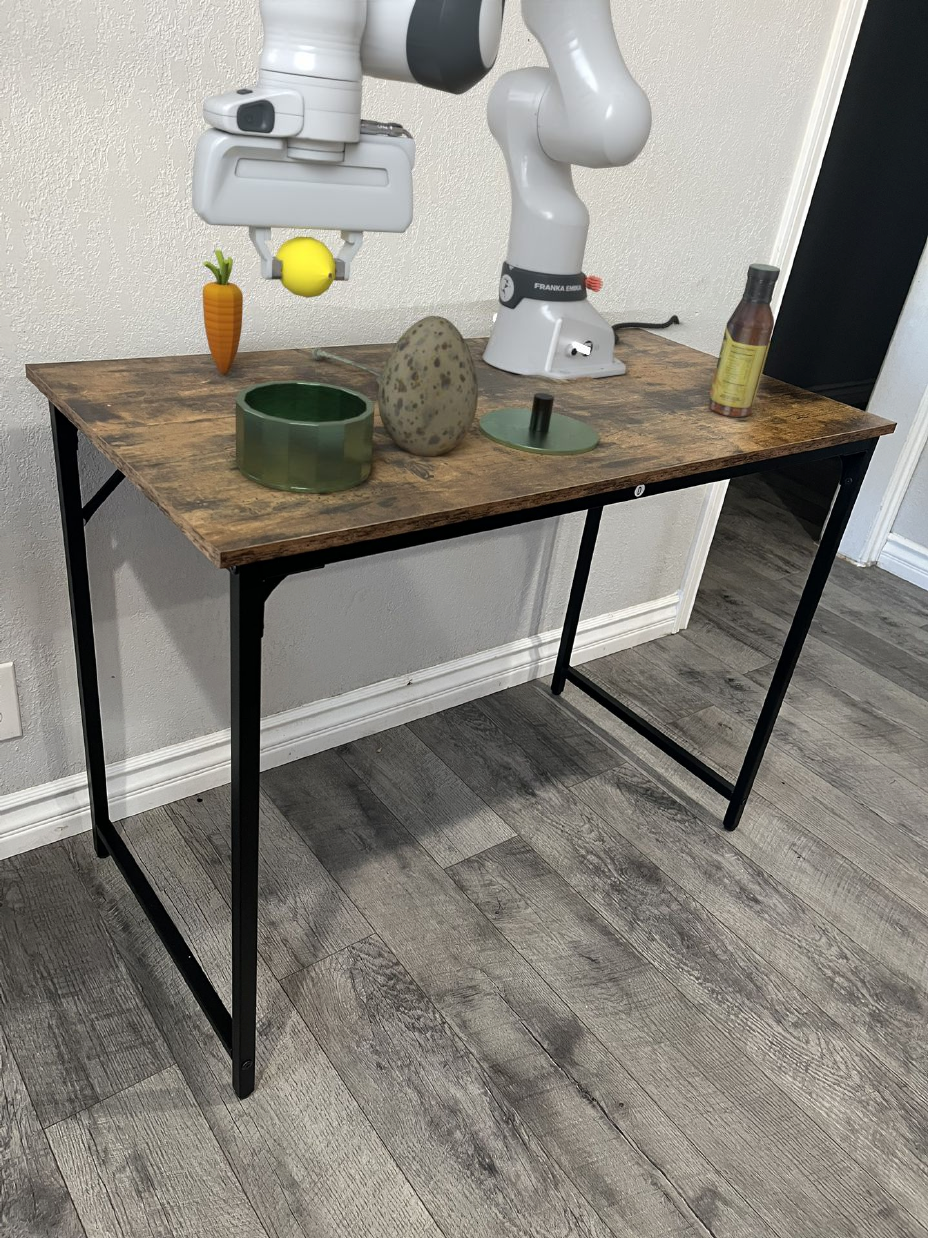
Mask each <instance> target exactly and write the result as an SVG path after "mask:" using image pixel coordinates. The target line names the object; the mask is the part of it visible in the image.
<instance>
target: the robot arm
mask: <svg viewBox="0 0 928 1238" xmlns="http://www.w3.org/2000/svg"><path fill="white" fill-rule="evenodd" d="M519 1H520V14H521V19H522V21H523V24H524V26H525V28H526V29H527V30H528V32H529V33H530V34H531V35H532V36H533V37H534V38H535V39H536V41H537V42H538V44H539V45H540V47H541V49H542V51H543V54H544V56H545V58H546V62H547V65H548V67H547V66H546V67H545V66H539V65H534V66H528V67H526V66H525V67H522V68H517V69H513V70H509V71H506V72H504V73H503V74H501V75H500V76H499V77H498V78H497V80H496V81H494V84H493V85H492V87H491V89H490V91H489V93H488V94H489V95H488V98H487V103H486V121H487V122H486V123H487V126H488V129H489V131H490V134H491V135H492V137H493V139H494V140H495V142H496V144H497V145H498V146H499V149H500V150H501V152H502V155H503V159H504V162H505V166H506V170H507V171H506V172H507V175H508V180H509V187H510V201H511V210H510V221H509V230H508V231H509V232H508V242H507V251H506V258H505V259H506V260H504V261H503V262H502V266H501V272H500V278H499V286H498V288H499V289H498V306H497V309H496V313H495V314H494V315H493V319H492V322H493V326H492V329H491V334H490V335H489V338H488V342H487V344H486V347H485V349H484V352H483V353H482V359H483V361H484V362H486V364H489V365H490V366H493V367H495V368H497V369H500V370H503V371H506V372H510V373H513V374H519V375H523V376H537V375H538V376H542V377H545V378H550V379H554V380H559V381H560V380H562V381H563V380H564V381H565V380H573V379H580V378H581V379H582V378H588V377H589V378H591V379H598V378H603V377H604V378H605V377H611V376H619V375H625V374H626V373H627V366H626V365H625V363H624V362H622V360H620V359H618V358H617V357H615V355H614V354H615V344H617V343H618V342H619V341H620V337H619V335H618V334H617V332H616V331H618V330H621V329H629V328H630V329H631V328H632V329H633V328H635V329H647V330H649V329H650V330H651V329H652V330H662V329H663V330H664V329H667V328H669V327H670V326H672V325H673V324H674V325H680V319H679V317H678V315H676V314H673V315H672V316H671V317H670V318H669V319H668V320H667V321H666V322H663V323H661V322H660V323H652V322H651V323H650V322H640V321H639V322H637V321H635V322H634V321H631V322H630V321H629V322H621V323H615V324H613V325H611V324H610V323H609V322H608V321H607V320H606V319H605V318H604V317H603V316H602V315H601V313H600V312H599V311H598V310H597V309H596V307H595V306H594V305H593V304H592V303H591V302H590V301H589V300H588V292H587V290H591V291H592V292H594V293H598V292H600V291H601V290H602V289H603V287H604V281H603V279H602V278H600V277H598V276H595V275H592V274H591V275H589V276H587V275H586V274H585V273H584V272H583V264H584V258H585V252H586V245H587V239H588V234H589V228H590V222H591V220H590V212H589V210H588V207H587V205H586V203H584V201H583V200H582V199H581V198H580V196H579V195H578V193H577V190H576V188H575V185H574V184H575V183H574V181H573V175H572V173H573V172H572V165H574V166H579V167H582V168H583V167H584V168H588V169H593V170H595V169H597V170H598V169H612V168H620V167H621V168H623V167H625V166H626V167H627V166H628V165H630V164H631V163H633V162H634V161H635V160H637V158H638V157H639V155H640V154H641V153H642V152H643V150H644V149H645V146H646V145H647V142H648V140H649V137H650V134H651V130H652V124H653V123H652V122H653V116H652V106H651V102H650V99H649V97H648V94H647V93H646V92H645V90H644V89H643V88H642V87H641V86H640V85H639V84H638V82H637V81H636V79H635V78H634V77H633V75H632V74H631V72H630V71H629V68H628V66H627V64H626V61H625V60H624V57H623V55H622V53H621V49H620V47H619V42H618V40H617V37H616V32H615V28H614V23H613V18H612V10H611V0H519ZM505 6H506V0H258V10H259V15H260V20H261V23H262V30H263V42H262V49H261V53H260V56H259V60H258V77H257V78H258V80H257V81H258V83H257V84H255V85H249V86H247V87H244V88H239V89H235V90H231V91H227V92H223V93H219V94H216V95H215V94H214V95H212V96H209V97H207V98H205V99H204V100H203V102H202V116H203V120H204V122H205V123H206V124H207V125H209V126H211V127H210V128H208V129H205V130H204V131H203V132H202V133H201V134H200V136H199V138H198V139H197V142H196V145H195V148H194V154H193V155H194V156H193V163H192V175H191V176H192V177H191V181H192V182H191V205H192V208H193V211H194V213H195V214H196V215H197V216H198V218H200V220H202V221H203V222H204V223H206V224H208V225H210V226H222V227H223V226H224V227H244V228H245V227H247V228H248V238H249V239H250V241H251V242H252V243H251V244H252V245H253V247H254V249H255V250H256V252H257V254H258V256H259V257H260V275H261V278H263V279H264V280H268V281H269V280H271V281H272V280H273V281H274V280H275V281H276V280H279V281H280V280H281V278H282V273H281V271H280V270H281V269H282V260H280V259H278V258H277V257H276V256H273V255H272V253H271V252H270V249H269V247H268V245H267V243H266V241H271V239H272V228H273V229H296V230H318V231H319V230H321V231H324V230H325V231H340V239H341V240H342V241H344V243H343V245H342V246H341V249H340V251H339V252H338V255H337V256H336V257H333V258H334V261H335V265H336V266H335V279H334V280H333V281H338V282H339V281H340V282H342V281H343V282H348V281H349V280H350V273H351V272H350V270H351V263H352V262H353V260H354V258H355V257H356V255H357V254H358V252H359V250H360V249H361V247H362V246H363V240H364V232H369V233H395V234H396V233H397V234H403V233H405V232H407V231H408V229H409V227H410V226H411V225H412V223H413V217H414V184H413V183H414V182H413V169H414V166H415V160H416V159H415V158H416V142H415V140H414V137H413V135H412V133H411V132H409V131H408V130H407V129H405V128H404V126H403V125H402V124H401V123H398V122H382V121H377V120H371V119H364V118H362V107H363V105H362V103H363V82H364V77H369V78H373V79H377V80H386V81H392V82H398V83H399V82H400V83H406V84H414V85H420V86H422V87H424V88H429V89H433V90H436V91H440V92H444V93H447V94H452V95H457V96H459V95H463V94H465V93H467V92H468V91H470V90H471V89H472V88H474V87H475V86H476V85H478V84H479V82H481V81H483V79H484V78H485V77H486V76H487V75H488V74H489V73H490V72H491V70H492V69H493V68H494V66H495V64H496V61H497V59H498V58H497V57H498V54H499V50H500V44H501V38H502V30H503V23H504V14H505V13H504V12H505ZM403 135H405V136H406V137H404V136H403Z"/></svg>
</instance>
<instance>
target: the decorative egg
mask: <svg viewBox="0 0 928 1238" xmlns="http://www.w3.org/2000/svg"><path fill="white" fill-rule="evenodd" d="M381 373H382V375H381V379H380V384H378V390H377V392H378V393H377V397H378V398H377V406H378V411H379V412H378V413H379V417H380V419H381V423H382V425H383V427H384V429H385V431H386V433H387V434H388V436H389V437H390V439H391V440H392V441H393V442H394V443H395V445H396V446H398V447H399V448H401V449H402V450H403V451H404V452H406V453H408V454H411V455H415V456H419V457H436V456H439V455H443V454H445V453H447V452H449V451H451V450H452V449H454V448H455V447H456V446H458V445H459V444H460V443H461V442H462V441H463V439H464V438H465V437H466V436H467V434H468V432H469V431H470V429H471V427H472V425H473V423H474V420H475V416H476V413H477V408H478V402H479V401H478V399H479V383H478V375H477V370H476V366H475V362H474V359H473V356H472V353H471V351H470V347H469V345H468V344H467V342H466V340H465V338H464V336H463V335H462V333H461V331H460V330H459V329H458V328H457V327H456V326H455V325H454V323H453V322H451V321H450V320H448V319H447V318H445V317H443V316H439V315H429V316H426V317H424V318H421V319H420V320H418V321H416V322H415V323H414V324H412V325H411V326H410V327H409V328H408V329H407V330H406V331H405V332H404V333H403V334H402V335H401V336H400V338H399V339H398V340H397V341H396V343H395V344H394V345H393V347H392V349H391V351H390V352H389V354H388V356H387V358H386V361H385V363H384V365H383V369H382V371H381Z"/></svg>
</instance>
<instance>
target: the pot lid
mask: <svg viewBox="0 0 928 1238" xmlns="http://www.w3.org/2000/svg"><path fill="white" fill-rule="evenodd" d="M554 401H555V396H554V395H552V394H549V393H545V392H537V393H534V394H533V400H532V407H531V409H530V408H503V409H497V410H492V411H489V412H487V413H484V414H483V415H481V416H480V418H479V419H478V420H479V421H478V429H479V431H480V432H481V433H482V435H484V436H485V437H486V438H488V439H489V440H491V441H493V442H495V443H497V444H500V445H501V446H505V447H507V448H510V449H513V450H514V449H515V450H519V451H523V452H526V453H531V454H538V455H549V456H550V455H551V456H573V455H580V454H584V453H587V452H590V451H592V450H594V449H595V448H596V447H597V446H598V443H599V440H600V437H599V436H600V435H599V434H598V432H597V431H596V430H595V429H594V428H593V427H592V426H590V425H589V424H587V423H584V422H583V421H580V420H578V419H575V418H573V417H570V416H567V415H562V414H559V413H556V412H553V408H554Z"/></svg>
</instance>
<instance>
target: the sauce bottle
mask: <svg viewBox="0 0 928 1238" xmlns="http://www.w3.org/2000/svg"><path fill="white" fill-rule="evenodd" d="M780 273H781V269H780V268H779V267H778V266H774V265H771V264H766V263H750V264H749V266H748V269H747V272H746V277H747V279H746V283H745V287H744V290H743V293H742V296H741V299H740V301H739V302H738V304H737V305H736V308H735V309H734V311H733V313H732V314H731V316H730V317H729V319H728V321H727V322H726V325H725V329H724V334H723V339H722V342H721V346H720V350H719V354H718V359H717V363H716V367H715V372H714V376H713V380H712V383H711V388H710V393H709V401H708V406H709V410H711V411H713V412H714V413H717V414H720V415H723V416H726V417H729V418H745V417H748V416H750V415H751V412H752V409H753V405H754V404H755V402H756V398H757V394H758V392H759V391H758V390H759V387H760V383H761V379H762V377H763V372H764V368H765V364H766V360H767V357H768V352H769V349H770V345H771V338H772V334H773V330H774V325H775V318H774V315H773V311H772V307H771V303H772V301H773V295H774V291H775V287H776V283H777V281H778V279H779V276H780Z"/></svg>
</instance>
